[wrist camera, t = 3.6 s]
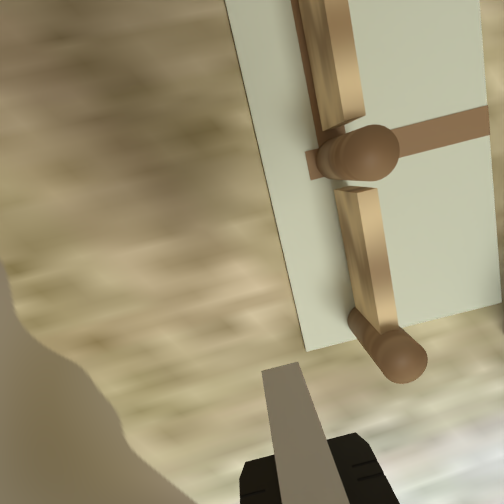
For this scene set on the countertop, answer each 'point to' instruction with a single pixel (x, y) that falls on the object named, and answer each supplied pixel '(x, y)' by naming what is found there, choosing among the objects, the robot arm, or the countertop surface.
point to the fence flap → (375, 287)
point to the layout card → (405, 172)
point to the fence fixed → (343, 97)
